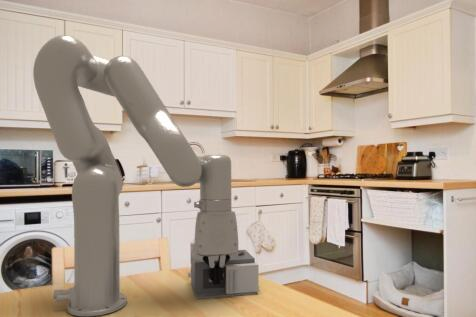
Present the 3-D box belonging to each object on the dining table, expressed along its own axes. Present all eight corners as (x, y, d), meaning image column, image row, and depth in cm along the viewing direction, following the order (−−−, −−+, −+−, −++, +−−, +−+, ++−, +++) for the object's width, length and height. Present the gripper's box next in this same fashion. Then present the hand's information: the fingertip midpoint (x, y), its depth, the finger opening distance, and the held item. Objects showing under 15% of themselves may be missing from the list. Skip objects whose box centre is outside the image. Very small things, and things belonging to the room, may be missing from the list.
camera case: (195, 299, 88) (195, 262, 88) (191, 282, 100) (190, 250, 100) (257, 294, 91) (257, 258, 91) (245, 278, 103) (245, 247, 103)
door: (226, 294, 89) (226, 267, 89) (225, 291, 91) (224, 264, 91) (259, 292, 91) (259, 265, 91) (256, 289, 93) (256, 262, 93)
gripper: (185, 209, 84) (186, 290, 84) (249, 207, 88) (250, 285, 87) (183, 205, 92) (183, 280, 91) (242, 203, 95) (243, 276, 95)
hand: (216, 282), depth 89 cm, fingers closed
